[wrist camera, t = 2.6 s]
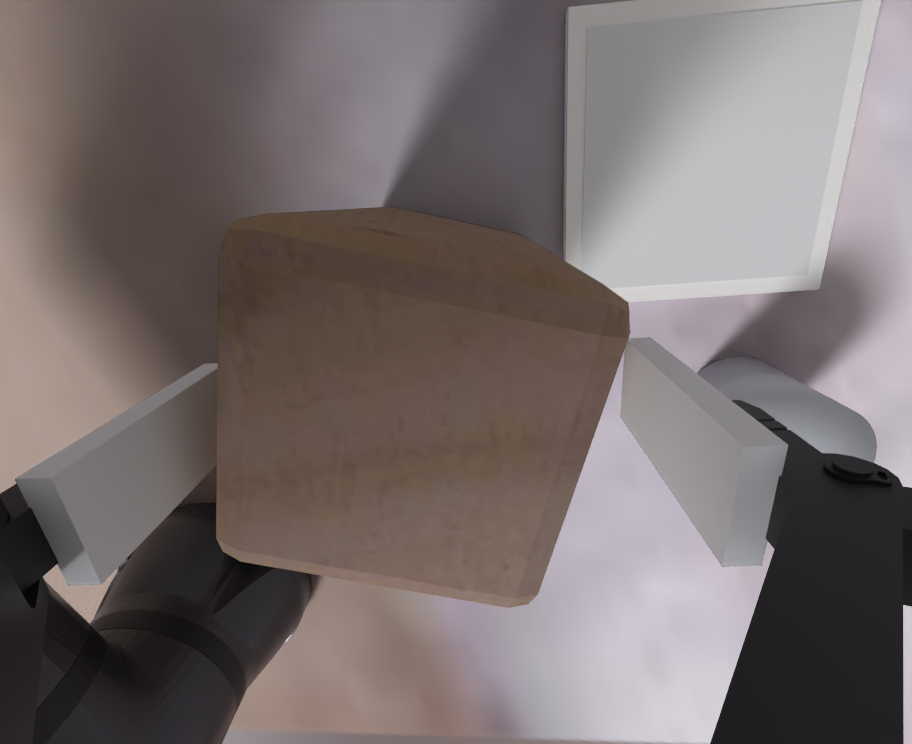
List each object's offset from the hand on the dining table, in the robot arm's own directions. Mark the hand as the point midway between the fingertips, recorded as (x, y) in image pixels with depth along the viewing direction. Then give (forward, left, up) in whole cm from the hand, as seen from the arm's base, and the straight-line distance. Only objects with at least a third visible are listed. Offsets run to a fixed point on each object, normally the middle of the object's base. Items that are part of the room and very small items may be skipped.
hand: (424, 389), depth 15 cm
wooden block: (0, 0, -16) cm, 16 cm away
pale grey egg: (+20, -9, -16) cm, 27 cm away
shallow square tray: (+16, +7, -16) cm, 23 cm away
